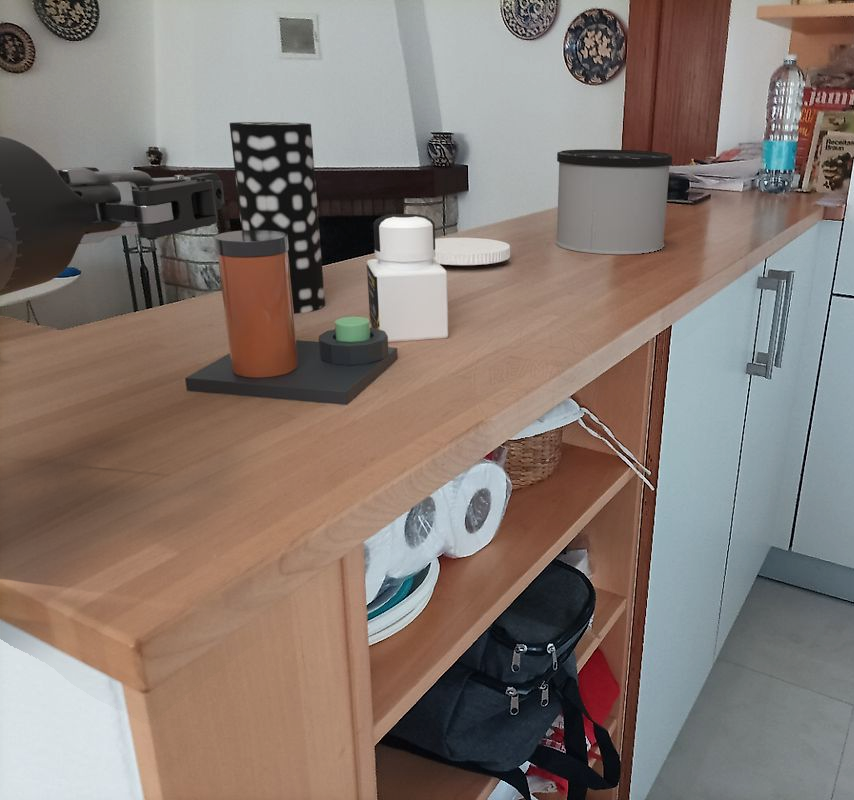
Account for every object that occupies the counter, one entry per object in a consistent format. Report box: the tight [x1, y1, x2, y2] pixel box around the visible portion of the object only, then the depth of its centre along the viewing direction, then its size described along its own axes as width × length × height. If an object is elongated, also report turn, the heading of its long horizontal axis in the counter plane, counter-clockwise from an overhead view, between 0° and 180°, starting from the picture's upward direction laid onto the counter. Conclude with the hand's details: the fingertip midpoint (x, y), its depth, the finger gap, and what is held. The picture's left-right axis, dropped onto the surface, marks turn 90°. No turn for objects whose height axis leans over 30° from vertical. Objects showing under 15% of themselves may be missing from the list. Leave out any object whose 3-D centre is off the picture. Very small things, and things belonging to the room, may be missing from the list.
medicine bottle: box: [366, 213, 449, 343], centre depth 80 cm, size 7×7×12 cm
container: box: [555, 148, 674, 256], centre depth 131 cm, size 19×19×15 cm
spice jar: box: [213, 230, 298, 378], centre depth 65 cm, size 6×6×11 cm
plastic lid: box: [434, 237, 511, 266], centre depth 116 cm, size 14×14×2 cm
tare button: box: [334, 316, 371, 342], centre depth 70 cm, size 3×3×2 cm
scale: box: [184, 327, 399, 406], centre depth 68 cm, size 14×12×3 cm
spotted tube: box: [229, 121, 326, 315], centre depth 87 cm, size 8×8×20 cm
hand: (155, 187), depth 51 cm, fingers open, 8 cm apart
